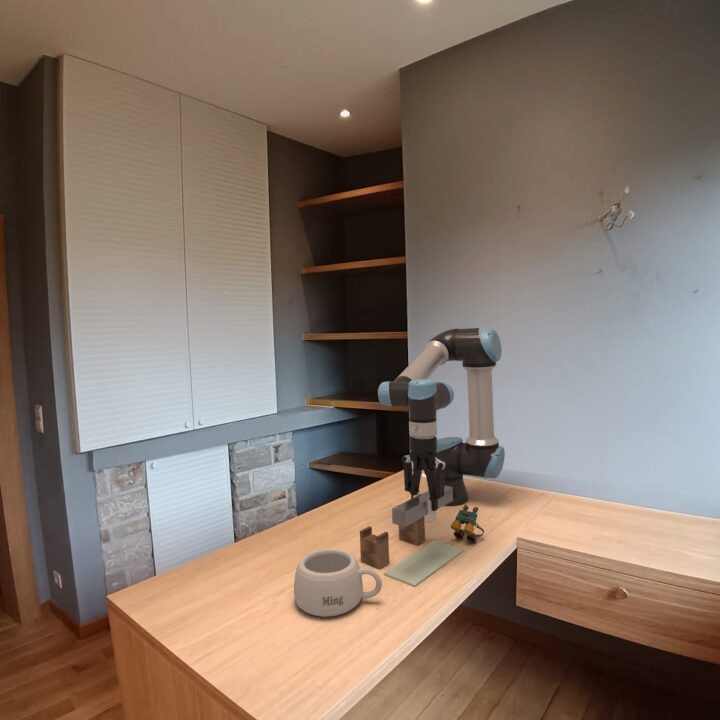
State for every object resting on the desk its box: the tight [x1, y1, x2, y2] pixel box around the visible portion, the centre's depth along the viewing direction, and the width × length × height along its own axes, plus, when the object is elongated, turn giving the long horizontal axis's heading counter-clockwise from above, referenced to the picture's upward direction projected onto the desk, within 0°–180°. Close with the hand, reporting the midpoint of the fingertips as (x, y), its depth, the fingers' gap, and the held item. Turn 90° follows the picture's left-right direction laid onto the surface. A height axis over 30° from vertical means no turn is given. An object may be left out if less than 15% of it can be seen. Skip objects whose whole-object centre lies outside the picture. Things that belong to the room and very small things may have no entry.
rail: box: [391, 486, 453, 527], centre depth 133 cm, size 4×24×4 cm, turn 139°
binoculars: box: [450, 504, 485, 544], centre depth 148 cm, size 9×9×10 cm
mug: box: [293, 548, 383, 618], centre depth 116 cm, size 21×17×10 cm
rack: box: [359, 516, 426, 570], centre depth 141 cm, size 7×22×9 cm, turn 139°
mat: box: [383, 539, 465, 588], centre depth 134 cm, size 10×25×1 cm, turn 139°
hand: (424, 519), depth 133 cm, fingers closed on rail, 4 cm apart
